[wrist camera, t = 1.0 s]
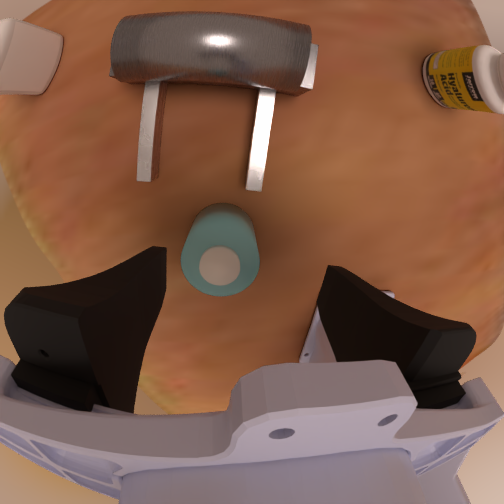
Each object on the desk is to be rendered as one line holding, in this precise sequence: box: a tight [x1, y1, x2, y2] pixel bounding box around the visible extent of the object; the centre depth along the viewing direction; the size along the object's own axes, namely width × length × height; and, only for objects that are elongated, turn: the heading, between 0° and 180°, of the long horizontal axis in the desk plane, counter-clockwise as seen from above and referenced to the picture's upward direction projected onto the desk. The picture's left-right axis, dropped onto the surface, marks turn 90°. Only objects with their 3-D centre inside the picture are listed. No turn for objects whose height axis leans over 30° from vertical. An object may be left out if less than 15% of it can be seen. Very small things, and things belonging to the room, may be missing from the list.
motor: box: [109, 11, 318, 191], centre depth 14 cm, size 11×12×6 cm
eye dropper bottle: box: [0, 18, 63, 95], centre depth 8 cm, size 4×6×12 cm
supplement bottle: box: [423, 45, 504, 114], centre depth 12 cm, size 5×5×10 cm
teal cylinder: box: [181, 203, 260, 296], centre depth 19 cm, size 5×5×6 cm
